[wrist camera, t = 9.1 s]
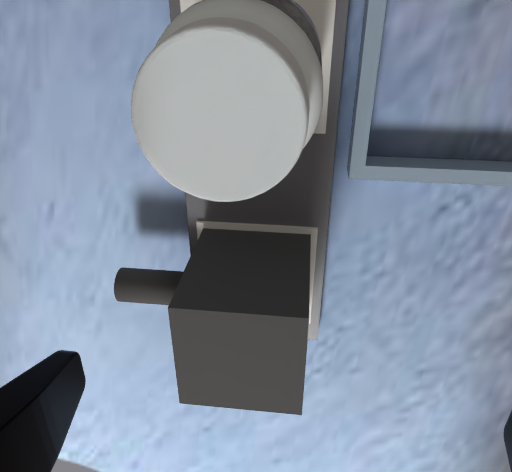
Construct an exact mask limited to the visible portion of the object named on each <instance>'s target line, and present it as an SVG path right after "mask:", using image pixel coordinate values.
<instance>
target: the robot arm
mask: <svg viewBox="0 0 512 472" xmlns="http://www.w3.org/2000/svg"><path fill="white" fill-rule="evenodd" d="M84 388H85V375H84V371H83V366H82V362H81V358H80V355H79V354H78V353H77V352H74V351H65V350H59V351H57V352H55V353H53V354H52V355H50V356H49V357H47V358H46V359H44V360H43V361H41V362H40V363H38V364H36V365H35V366H33V367H32V368H30V369H29V370H27V371H26V372H24V373H23V374H21V375H19V376H18V377H16V378H15V379H13V380H12V381H10V382H9V383H7V384H6V385H4V386H2V387H1V388H0V472H51V470H52V468H53V466H54V464H55V462H56V460H57V458H58V455H59V453H60V451H61V448H62V446H63V443H64V441H65V438H66V435H67V433H68V430H69V428H70V425H71V422H72V420H73V417H74V415H75V412H76V409H77V407H78V404H79V401H80V399H81V396H82V394H83V391H84ZM504 442H505V446H506V451H507V455H508V460H509V465H510V469H511V472H512V411H511V413H510V415H509V418H508V420H507V422H506V425H505V428H504Z"/></svg>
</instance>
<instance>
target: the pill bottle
mask: <svg viewBox="0 0 512 472" xmlns="http://www.w3.org/2000/svg"><path fill="white" fill-rule="evenodd" d="M321 55H322V54H321V48H320V40H319V37H318V33H317V31H316V28H315V26H314V24H313V22H312V20H311V19H310V17H309V16H308V14H307V13H306V12H305V10H304V9H303V8H302V7H301V6H300V5H299V4H298V3H297V2H295V1H294V0H203V1H201V2H198V3H195V4H194V5H192V6H190V7H189V8H188V9H186V10H185V11H183V12H182V13H180V14H179V15H178V16H177V17H176V18H175V19H174V20H173V21H172V22H171V23H170V24H169V26H168V27H167V28H166V30H165V31H164V33H163V34H162V36H161V37H160V39H159V40H158V42H157V44H156V46H155V48H154V49H153V50H152V51H151V53H150V54H149V55H148V56H147V58H146V59H145V60H144V62H143V64H142V66H141V67H140V69H139V71H138V74H137V77H136V80H135V83H134V87H133V92H132V100H131V114H132V123H133V127H134V132H135V135H136V137H137V140H138V143H139V145H140V147H141V149H142V151H143V153H144V154H145V156H146V158H147V159H148V161H149V162H150V163H151V165H152V166H153V167H154V168H155V169H156V171H157V172H158V173H159V174H160V175H161V176H162V177H163V178H164V179H165V180H167V181H168V182H169V183H171V184H172V185H173V186H175V187H176V188H178V189H180V190H182V191H184V192H186V193H188V194H191V195H193V196H196V197H198V198H201V199H206V200H211V201H218V202H232V201H240V200H245V199H249V198H252V197H255V196H257V195H259V194H262V193H264V192H266V191H267V190H269V189H271V188H272V187H274V186H275V185H276V184H278V183H279V182H280V181H281V180H282V179H283V178H284V177H285V176H286V175H287V174H288V173H289V172H290V171H291V169H292V168H293V166H294V165H295V163H296V162H297V160H298V158H299V156H300V154H301V152H302V149H303V148H304V147H305V146H306V144H307V143H308V141H309V140H310V138H311V136H312V135H313V133H314V131H315V129H316V126H317V124H318V122H319V119H320V117H321V112H322V106H323V75H322V57H321Z"/></svg>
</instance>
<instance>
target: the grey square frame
mask: <svg viewBox="0 0 512 472" xmlns="http://www.w3.org/2000/svg"><path fill="white" fill-rule="evenodd" d="M386 2H387V0H365V8H364V17H363V27H362V36H361V45H360V54H359V64H358V73H357V82H356V91H355V101H354V110H353V119H352V128H351V138H350V147H349V156H348V165H347V170H348V176H349V179H363V180H385V181H407V182H430V183H452V184H474V185H497V186H512V162H509V161H484V160H458V159H433V158H408V157H383V156H367V149H368V141H369V133H370V126H371V118H372V110H373V103H374V95H375V87H376V79H377V72H378V64H379V56H380V48H381V41H382V33H383V25H384V17H385V10H386Z"/></svg>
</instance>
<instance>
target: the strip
mask: <svg viewBox="0 0 512 472" xmlns="http://www.w3.org/2000/svg"><path fill="white" fill-rule="evenodd" d="M201 1H203V0H169V6H170V18H171V22H172V21H173V20H174V19H175V18H176V17H177V16H178V15H179V14H180V13H182V12H183V11H185V10H186V9H188V8H189V7H190V6H192V5H194V4H195V3H198V2H201ZM294 1H295V2H297V3H298V4H299V5H300V6H301V7H302V8H303V9H304V10H305V12H306V13H307V14H308V16H309V17H310V19H311V20H312V22H313V24H314V26H315V28H316V31H317V33H318V37H319V40H320V48H321V54H322V55H321V57H322V75H323V106H322V112H321V117H320V119H319V122H318V124H317V126H316V129H315V131H314V133H313V135H312V136H311V138H310V140H309V141H308V143H307V144H306V146H305V147H304V148H303V149H302V152H301V154H300V156H299V158H298V160H297V162H296V163H295V165H294V166H293V168H292V169H291V171H290V172H289V173H288V174H287V175H286V176H285V177H284V178H283V179H282V180H281V181H280V182H279V183H278V184H276V185H275V186H274V187H272V188H271V189H269V190H267V191H266V192H264V193H262V194H259V195H257V196H255V197H252V198H249V199H245V200H240V201H232V202H218V201H211V200H206V199H201V198H198V197H196V196H193V195H191V194H188V193H186V192H185V194H186V206H187V218H188V230H189V241H190V253H191V254H192V252H193V250H194V248H195V245H196V243H197V241H198V239H199V236H200V234H201V232H202V230H203V228H208V229H226V230H243V231H261V232H278V233H296V234H311V250H310V299H309V326H308V339H309V340H318V330H319V319H320V308H321V297H322V286H323V276H324V265H325V254H326V243H327V232H328V221H329V210H330V199H331V189H332V178H333V167H334V156H335V145H336V134H337V123H338V112H339V102H340V91H341V80H342V69H343V58H344V47H345V36H346V25H347V15H348V4H349V0H294Z"/></svg>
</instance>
